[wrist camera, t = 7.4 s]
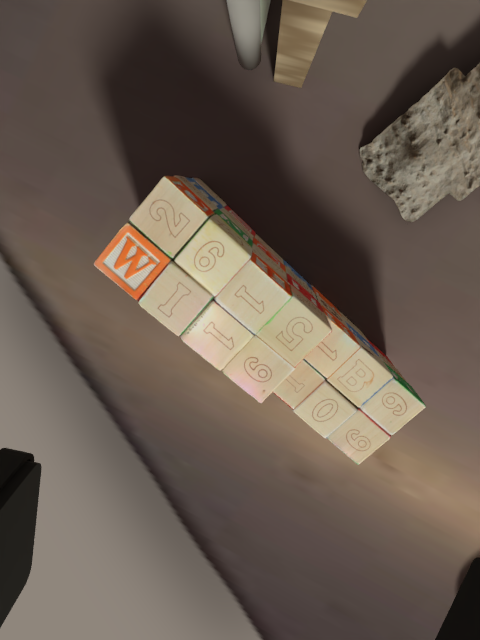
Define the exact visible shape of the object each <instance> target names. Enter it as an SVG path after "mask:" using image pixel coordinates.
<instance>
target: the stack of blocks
mask: <svg viewBox="0 0 480 640" xmlns="http://www.w3.org/2000/svg"><path fill="white" fill-rule="evenodd" d="M129 219H130V222H128V223H126V224H125V225H124V226H123V227H122V228H121V230H120V231H119V232H118V233H117V235H116V236H115V237H114V238H113V240H112V241H111V242H110V243H109V244H108V246H107V247H106V248H105V250H104V251H103V252H102V253H101V255H100V256H99V257H98V258H97V260H96V261H95V263H94V265H95V266H96V267H97V268H98V269H99V270H100V271H102V272H103V273H104V274H105V275H106V276H108V277H109V278H110V279H111V280H113V281H114V282H115V283H116V284H117V285H118V286H120V287H121V288H122V289H123V290H124V291H126V292H127V293H128V294H129V295H130V296H132V297H133V298H134V299H136V300H138V303H139V305H140V306H141V307H142V308H144V309H145V310H146V311H147V312H148V313H150V314H151V315H152V316H154V317H155V318H156V319H157V320H158V321H160V322H161V323H162V324H163V325H164V326H166V327H167V328H168V329H170V330H171V331H172V332H173V333H175V334H176V335H178V336H181V339H182V341H183V342H184V343H185V344H187V345H188V346H189V347H190V348H191V349H193V350H194V351H195V352H196V353H198V354H199V355H200V356H201V357H203V358H204V359H205V360H206V361H208V362H209V363H210V364H211V365H212V366H214V367H215V368H216V369H218V370H221V371H222V372H223V373H224V374H225V375H226V376H227V377H228V378H229V379H231V380H232V381H233V382H234V383H236V384H237V385H238V386H239V387H241V388H242V389H243V390H244V391H245V392H247V393H248V394H249V395H250V396H252V397H253V398H254V399H256V400H257V401H258V402H259V403H262V402H263V401H264V400H265V399H266V398H267V397H268V396H269V395H270V394H271V393H272V392H273V393H274V394H275V395H276V396H278V397H279V398H280V399H281V400H282V401H283V402H285V403H286V404H287V405H288V406H289V407H290V408H292V409H293V411H294V413H296V414H297V415H298V416H299V417H300V418H301V419H302V420H304V421H305V422H306V423H307V424H308V425H309V426H311V427H312V428H313V429H314V430H315V431H317V432H318V433H319V434H320V435H321V436H322V437H324V438H328V439H329V440H330V441H331V442H332V443H333V444H334V445H335V446H336V447H337V448H339V449H340V450H341V451H342V452H343V453H344V454H346V455H347V456H348V457H349V458H350V459H351V460H353V461H354V462H355V463H356V464H358V465H359V464H360V463H361V462H362V461H364V460H365V459H366V458H367V457H368V456H370V455H371V454H372V453H373V452H374V451H375V450H377V449H378V448H379V447H380V446H382V445H383V444H384V443H385V442H386V441H388V440H389V439H390V437H391V435H393V434H394V433H396V432H397V431H398V430H399V429H400V428H402V427H403V426H404V425H405V424H406V423H408V422H409V421H410V420H411V419H412V418H413V417H415V416H416V415H417V414H418V413H419V412H421V411H422V410H423V409H424V408H425V407H426V406H425V404H424V403H423V401H422V400H421V398H420V397H419V396H418V394H417V393H416V392H415V390H414V389H413V388H412V387H411V386H410V385H409V384H408V383H407V382H406V381H405V379H404V378H403V377H402V375H401V374H400V373H399V371H398V370H397V369H396V368H395V367H394V365H393V364H392V362H391V361H390V360H389V359H388V357H387V356H386V355H385V354H384V353H383V352H381V351H380V350H379V349H378V348H377V347H376V346H375V345H374V344H373V343H372V342H370V341H369V340H368V339H367V338H366V337H365V336H364V334H363V333H362V332H361V331H360V330H359V329H358V328H357V327H356V326H355V325H354V324H353V323H352V322H351V321H350V320H349V319H347V318H346V317H345V316H344V315H343V314H342V313H341V312H340V311H339V310H337V308H336V307H335V306H334V305H333V304H332V303H331V302H329V301H328V300H327V299H326V298H325V297H324V296H323V295H322V294H321V293H320V292H319V291H318V290H317V289H316V288H315V287H314V286H312V285H310V284H309V283H308V282H307V281H306V280H305V279H304V278H303V277H302V276H300V275H299V274H298V273H297V272H296V271H295V270H294V269H293V268H292V267H291V266H290V265H289V264H288V263H287V262H286V261H284V260H283V259H282V258H281V257H280V256H279V255H278V254H277V253H276V252H275V251H274V250H273V249H272V248H270V247H269V246H268V245H267V244H266V243H265V242H264V241H263V240H262V239H261V238H260V237H259V236H258V235H256V233H255V231H254V230H252V229H251V228H250V227H249V226H248V225H247V224H246V223H245V222H244V221H243V220H242V219H241V218H240V217H239V216H238V215H237V214H236V213H235V212H234V211H233V210H232V209H230V208H229V207H228V206H227V205H226V203H225V202H224V201H223V200H222V199H221V198H219V197H218V196H217V195H216V194H215V193H214V192H213V191H212V190H211V189H210V188H209V187H208V186H207V185H206V184H205V183H204V182H203V181H202V180H201V179H199V178H186V177H184V176H178V175H174V176H173V177H172V176H164V177H163V178H162V179H161V180H160V181H159V183H158V184H157V185H156V186H155V188H154V189H153V190H152V191H151V193H150V194H149V195H148V196H147V197H146V199H145V200H144V201H143V202H142V203H141V205H140V206H139V207H138V208H137V209H136V211H135V212H134V213H133V214H132V215H131V217H130V218H129Z"/></svg>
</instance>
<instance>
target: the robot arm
mask: <svg viewBox="0 0 480 640" xmlns="http://www.w3.org/2000/svg"><path fill="white" fill-rule="evenodd" d="M40 477H41V464H40V463H36V462H34V456H33V454H31V453H26V452H22V451H17V450H12V449H7V448H2V449H1V450H0V627H1V626H2V624H3V622H4V620H5V619H6V617H7V615H8V614H9V612H10V610H11V608H12V607H13V605H14V603H15V602H16V599H17V598H18V596H19V595H20V593H21V591H22V590H23V588H24V586H25V584H26V582H27V579H28V577H29V574H30V570H31V565H32V556H33V545H34V536H35V526H36V516H37V507H38V497H39V487H40ZM435 640H480V558H476V559H474V561H473V562H472V564H471V566H470V568H469V570H468V572H467V574H466V577H465V579H464V581H463V583H462V585H461V587H460V589H459V591H458V593H457V595H456V597H455V599H454V601H453V604H452V606H451V608H450V610H449V612H448V614H447V616H446V618H445V620H444V622H443V624H442V626H441V628H440V631H439V633H438V635H437V637H436V639H435Z"/></svg>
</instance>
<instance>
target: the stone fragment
mask: <svg viewBox="0 0 480 640" xmlns="http://www.w3.org/2000/svg"><path fill="white" fill-rule="evenodd" d="M362 150H363V152H361V151H362ZM363 157H364V158H365V159H364V158H363ZM360 158H362V160H363V163H362V167H363V171H364V173H365V174H366V175H367V177H368V178H369V179H370V180H371V181H372V182H373V183H375V184H376V185H377V186H378V187H379V188H380V189H381V190H383V192H385V193H387V194H388V195H389V196H390V197H391V198H392V199H394V201H395V203H396V205H397V207H398V209H399V211H400V214H401V216H402V217H403V219H404V220H406V221H408V222H413V221H415V220H417V219H418V218H419V217H420V216H422V215H423V214H424V213H425V212H426V211H428V210H429V209H430V208H431V207H433V206H434V205H435V204H436V203H437V202H439V201H440V200H441V199H442V198H443V197H445V196H446V195H447V194H448V193H449V194H451V195H452V196H453V197H454V198H455V199H457V200H458V201H460V200H463V199H464V198H466V197H467V196H468V195H469V194H470V193H471V192H472V191H473V190H475V189H476V188H477V187H478V186H480V63H479V64H478V65H477V66H476V67H475V68H474V69H473V70H471V71H470V72H469V73H468V74H467V75H466V76H464V75H463V74H462V72H461V71H460V70H459V69H457V68H455V67H454V68H453V69H451V70H450V71H449V72H448V73H447V74H446V76H444V77H443V78H442V79H441V81H440V82H439V83H438V84H437V85H435V86H434V87H433V88H432V89H431V90H430V91H429V92H428V93H427V94H425V95H424V96H423V97H422V98H421V100H420V101H419V102H417V103H416V104H414V105H413V106H411V107H410V108H409V110H408V111H407V112H406V113H405V114H404V115H401V116H400V117H398V118H397V119H396V120H395V121H394V123H392V124H391V125H390V126H388V127H387V128H386V129H385V130H384V131H383V132H382V133H381V134H380V135H378V136H377V137H376V138H375V139H374V140H373V141H372V143H370V144H367V145H365V146H364V147H361V148H360ZM405 224H406V223H405Z"/></svg>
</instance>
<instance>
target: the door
mask: <svg viewBox="0 0 480 640" xmlns="http://www.w3.org/2000/svg"><path fill="white" fill-rule="evenodd" d="M226 1H227V6H228V11H229V16H230V21H231V26H232V31H233V36H234V41H235V46H236V51H237V56H238V61H239V63H240V65H241V66H242V67H243V68H244V69H247V70H252V69H254V68H256V67H257V66H258V65H259V63H260V61H261V43H262V38H263V34H264V29H265V24H266V20H267V15H268V11H269V6H270V1H271V0H226Z"/></svg>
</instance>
